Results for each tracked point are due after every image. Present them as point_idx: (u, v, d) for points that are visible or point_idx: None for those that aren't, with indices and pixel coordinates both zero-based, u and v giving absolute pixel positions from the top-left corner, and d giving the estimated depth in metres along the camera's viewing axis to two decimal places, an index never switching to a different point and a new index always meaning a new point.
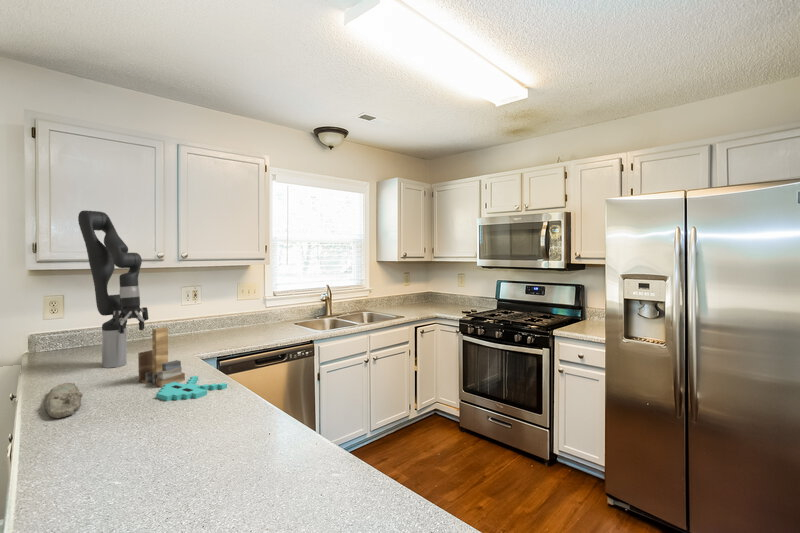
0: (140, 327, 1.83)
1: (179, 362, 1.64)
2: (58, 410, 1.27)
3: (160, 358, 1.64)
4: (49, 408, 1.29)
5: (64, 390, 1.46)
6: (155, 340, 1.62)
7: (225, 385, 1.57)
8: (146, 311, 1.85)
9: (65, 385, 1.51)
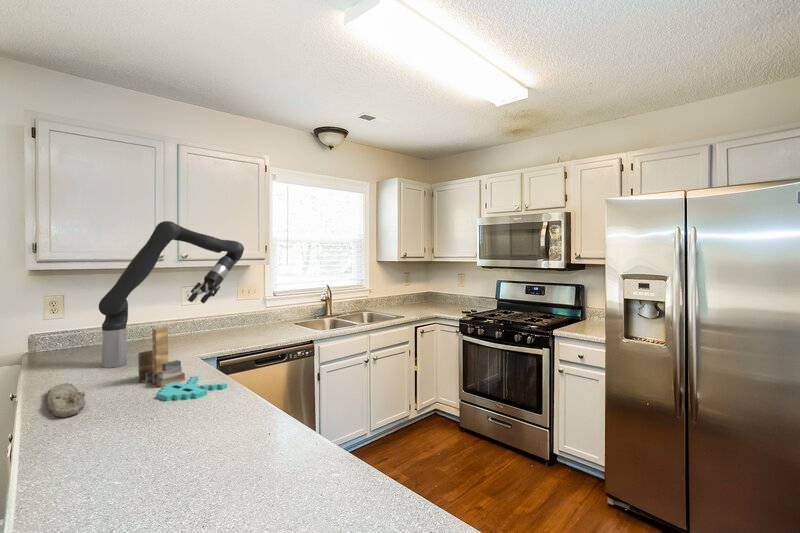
0: (191, 299, 1.84)
1: (179, 362, 1.64)
2: (64, 409, 1.28)
3: (160, 358, 1.64)
4: (53, 408, 1.30)
5: (63, 390, 1.46)
6: (155, 340, 1.62)
7: (225, 385, 1.57)
8: None
9: (63, 386, 1.50)
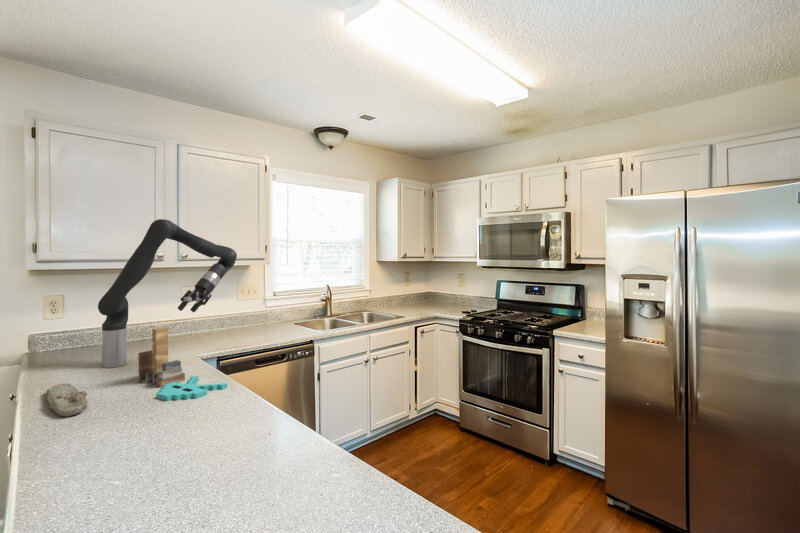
0: (181, 307, 1.77)
1: (179, 362, 1.64)
2: (67, 408, 1.29)
3: (160, 358, 1.64)
4: (56, 407, 1.30)
5: (62, 390, 1.46)
6: (155, 340, 1.62)
7: (225, 385, 1.57)
8: None
9: (61, 386, 1.50)
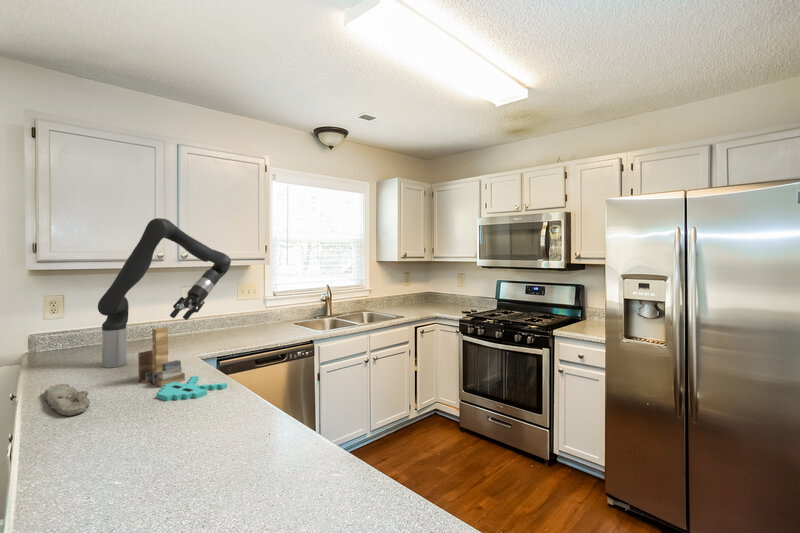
0: (174, 314, 1.74)
1: (179, 362, 1.64)
2: (70, 408, 1.29)
3: (160, 358, 1.64)
4: (59, 407, 1.30)
5: (61, 391, 1.45)
6: (155, 340, 1.62)
7: (225, 385, 1.57)
8: None
9: (59, 386, 1.49)
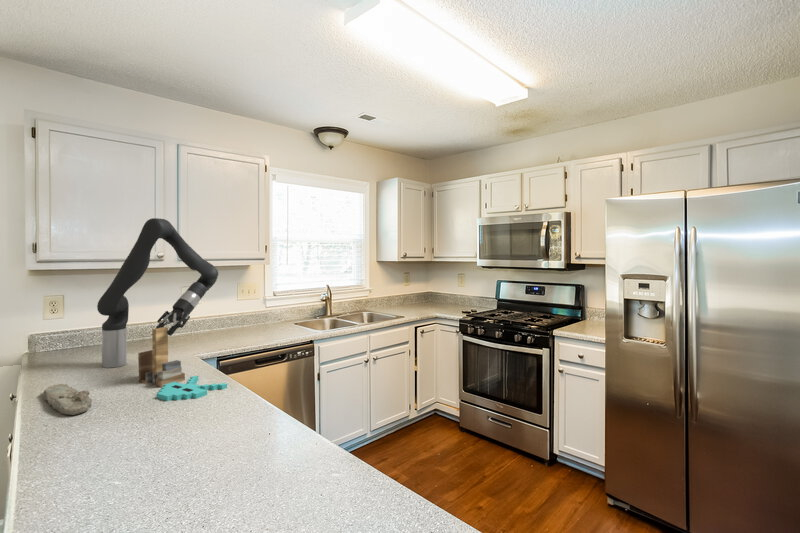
0: None
1: (179, 362, 1.64)
2: (73, 407, 1.30)
3: (160, 358, 1.64)
4: (61, 406, 1.31)
5: (61, 391, 1.45)
6: (155, 340, 1.62)
7: (225, 385, 1.57)
8: None
9: (58, 386, 1.49)
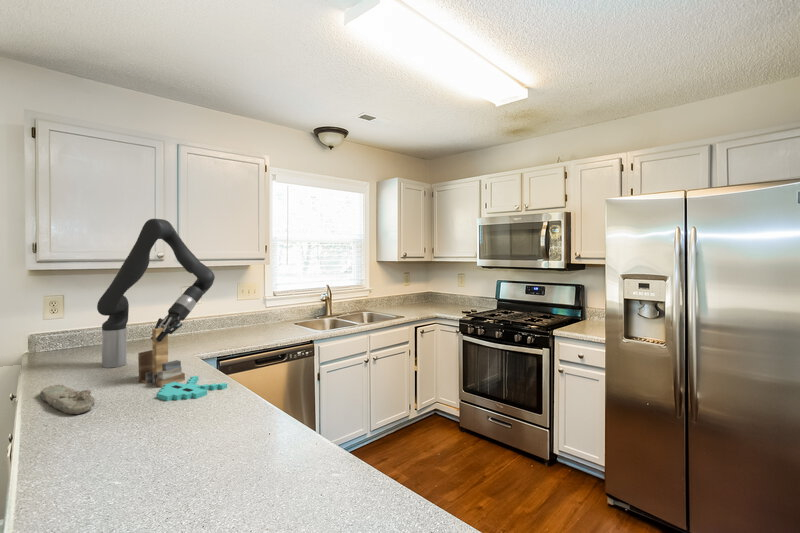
0: None
1: (179, 362, 1.64)
2: (78, 406, 1.31)
3: (160, 358, 1.64)
4: (64, 406, 1.31)
5: (59, 391, 1.45)
6: (155, 340, 1.62)
7: (225, 385, 1.57)
8: None
9: (54, 387, 1.48)
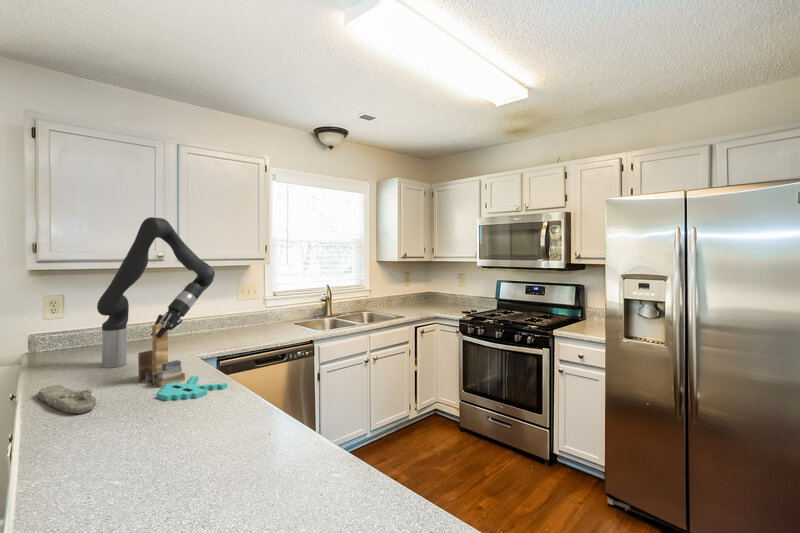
0: None
1: (179, 362, 1.64)
2: (80, 406, 1.31)
3: (160, 354, 1.64)
4: (66, 405, 1.31)
5: (57, 391, 1.44)
6: (155, 336, 1.62)
7: (225, 385, 1.57)
8: None
9: (52, 388, 1.48)
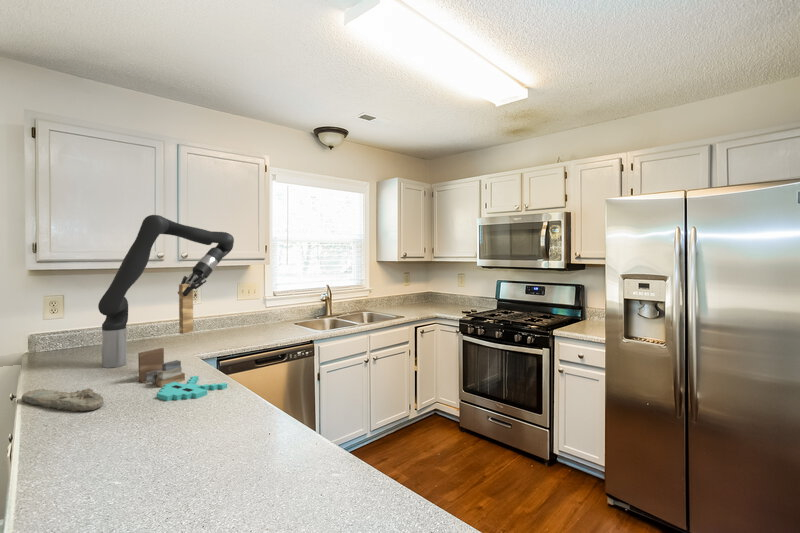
0: None
1: (179, 362, 1.64)
2: (92, 402, 1.34)
3: (186, 311, 1.77)
4: (75, 404, 1.33)
5: (48, 394, 1.42)
6: (182, 294, 1.75)
7: (225, 385, 1.57)
8: None
9: (37, 391, 1.44)
